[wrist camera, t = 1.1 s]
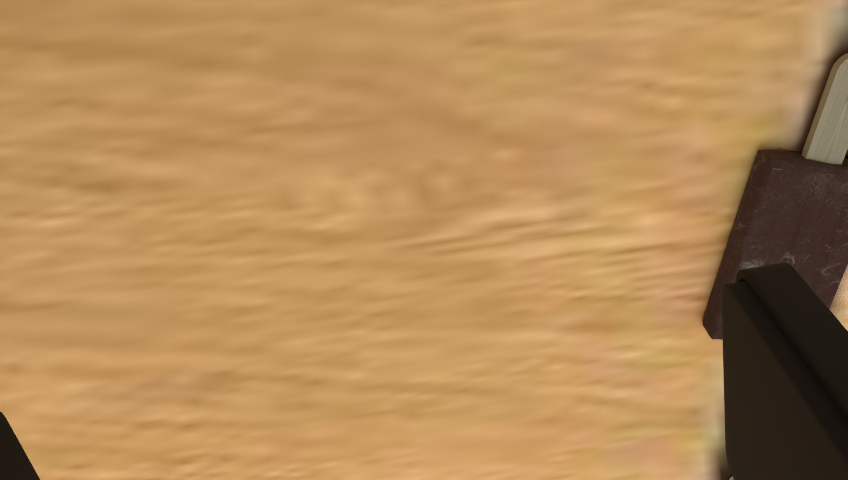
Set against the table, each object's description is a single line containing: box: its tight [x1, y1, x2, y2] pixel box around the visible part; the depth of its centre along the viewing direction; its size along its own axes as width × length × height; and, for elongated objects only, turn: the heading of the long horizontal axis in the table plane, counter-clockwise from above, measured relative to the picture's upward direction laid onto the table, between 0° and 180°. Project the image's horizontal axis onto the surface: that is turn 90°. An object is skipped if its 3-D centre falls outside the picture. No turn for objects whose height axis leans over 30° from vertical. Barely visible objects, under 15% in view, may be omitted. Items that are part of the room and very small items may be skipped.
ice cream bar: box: [703, 53, 848, 339], centre depth 37 cm, size 5×2×15 cm
